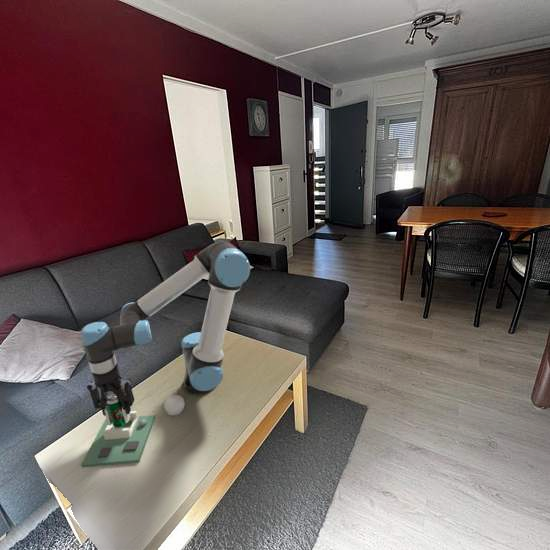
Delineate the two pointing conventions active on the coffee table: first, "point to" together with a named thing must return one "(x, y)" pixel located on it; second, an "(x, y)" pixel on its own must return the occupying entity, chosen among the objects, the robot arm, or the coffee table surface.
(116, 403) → the soda can
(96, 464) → the board
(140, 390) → the coffee table surface
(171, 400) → the seamed sphere
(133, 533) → the coffee table surface
